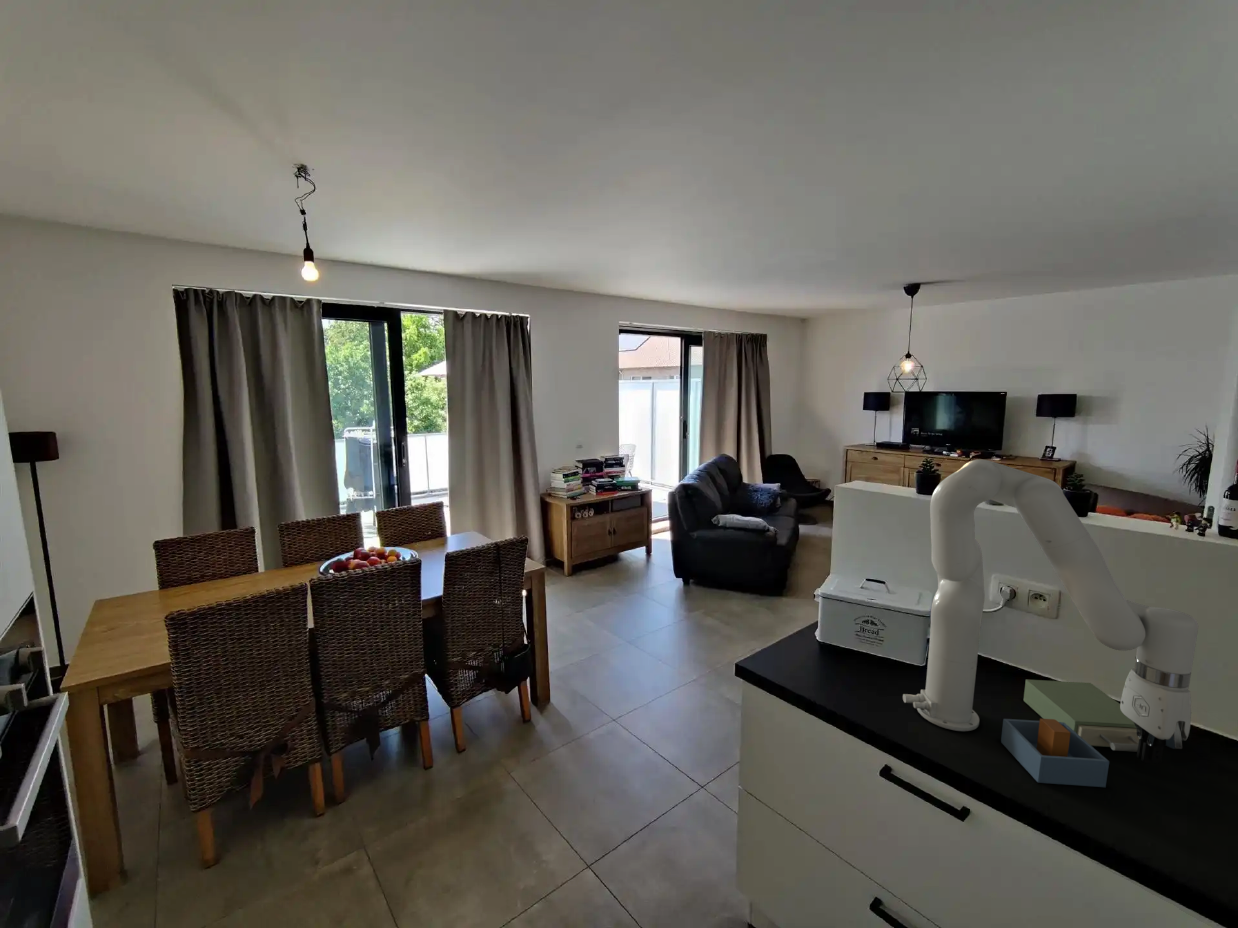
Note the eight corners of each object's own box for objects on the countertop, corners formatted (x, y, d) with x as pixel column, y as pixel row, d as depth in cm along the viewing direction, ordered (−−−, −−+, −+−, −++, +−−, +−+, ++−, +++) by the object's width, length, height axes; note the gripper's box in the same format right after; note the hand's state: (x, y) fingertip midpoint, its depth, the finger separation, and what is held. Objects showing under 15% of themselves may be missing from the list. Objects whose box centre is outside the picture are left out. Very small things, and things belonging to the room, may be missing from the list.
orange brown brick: (1049, 767, 108) (1054, 731, 107) (1035, 753, 113) (1039, 718, 112) (1066, 769, 108) (1070, 732, 107) (1051, 754, 112) (1055, 719, 111)
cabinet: (1146, 749, 115) (1149, 725, 114) (1072, 744, 116) (1075, 720, 115) (1087, 704, 131) (1090, 682, 130) (1023, 700, 133) (1025, 679, 132)
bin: (1037, 782, 105) (1041, 756, 104) (1000, 741, 117) (1003, 718, 116) (1105, 787, 104) (1109, 761, 103) (1061, 745, 116) (1064, 722, 115)
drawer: (1166, 763, 109) (1169, 745, 109) (1095, 758, 111) (1097, 741, 110) (1092, 705, 129) (1094, 691, 128) (1032, 702, 130) (1034, 688, 130)
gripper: (1109, 653, 111) (1098, 735, 114) (1176, 694, 96) (1162, 786, 99) (1148, 654, 110) (1136, 736, 113) (1222, 696, 96) (1206, 789, 98)
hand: (1148, 760), depth 106 cm, fingers closed
